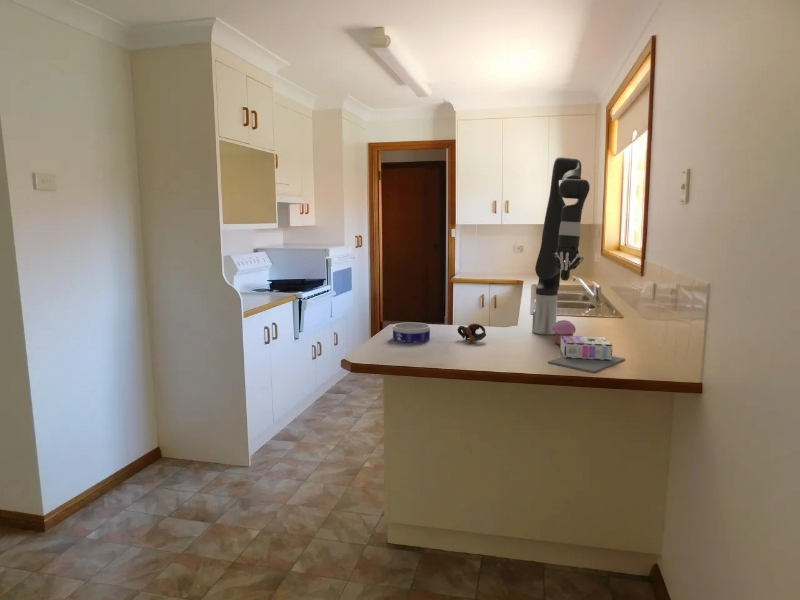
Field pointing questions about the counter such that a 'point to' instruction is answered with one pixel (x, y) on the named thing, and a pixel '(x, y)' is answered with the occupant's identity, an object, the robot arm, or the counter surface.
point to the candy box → (586, 347)
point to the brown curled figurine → (471, 332)
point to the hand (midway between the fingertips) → (564, 280)
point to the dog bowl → (411, 332)
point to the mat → (586, 363)
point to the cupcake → (563, 330)
